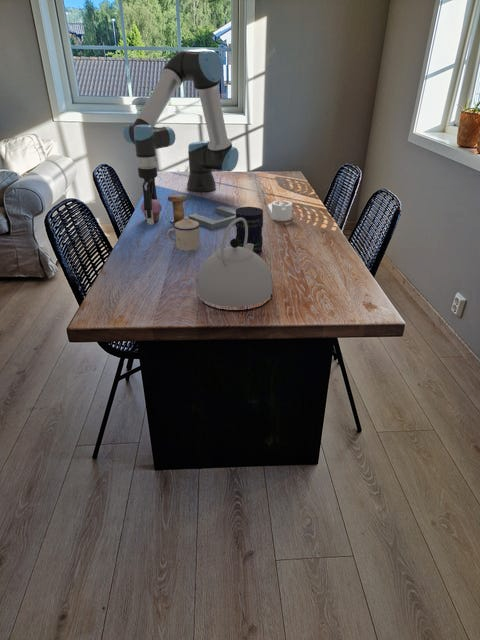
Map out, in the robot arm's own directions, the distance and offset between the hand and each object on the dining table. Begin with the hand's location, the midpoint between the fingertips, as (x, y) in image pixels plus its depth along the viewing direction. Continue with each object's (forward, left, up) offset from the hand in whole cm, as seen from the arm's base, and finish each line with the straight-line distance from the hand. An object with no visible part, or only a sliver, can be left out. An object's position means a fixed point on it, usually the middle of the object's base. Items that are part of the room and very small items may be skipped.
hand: (152, 221), depth 190 cm
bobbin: (+8, +8, 0) cm, 11 cm away
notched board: (+14, +22, 0) cm, 26 cm away
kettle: (+71, -18, -1) cm, 73 cm away
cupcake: (0, 0, -1) cm, 1 cm away
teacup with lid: (+32, -8, -1) cm, 33 cm away
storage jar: (+51, +7, -1) cm, 51 cm away
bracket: (+30, +48, -1) cm, 57 cm away
